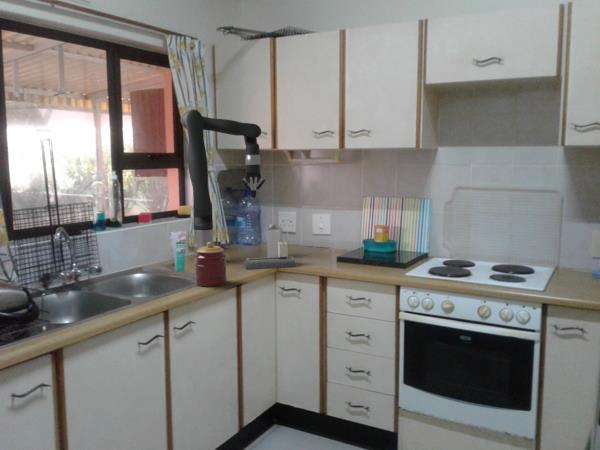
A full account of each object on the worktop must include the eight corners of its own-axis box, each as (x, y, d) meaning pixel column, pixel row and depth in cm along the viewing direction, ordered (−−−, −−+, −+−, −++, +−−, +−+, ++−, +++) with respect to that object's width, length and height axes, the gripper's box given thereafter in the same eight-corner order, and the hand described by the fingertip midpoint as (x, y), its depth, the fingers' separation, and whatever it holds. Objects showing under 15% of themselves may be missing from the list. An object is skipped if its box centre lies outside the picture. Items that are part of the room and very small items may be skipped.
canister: (212, 288, 210) (211, 245, 208) (188, 284, 217) (187, 242, 215) (233, 282, 222) (232, 240, 219) (209, 278, 228) (208, 238, 226)
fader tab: (279, 261, 253) (279, 243, 252) (278, 259, 258) (277, 242, 257) (287, 261, 254) (287, 243, 253) (286, 259, 259) (285, 241, 258)
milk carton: (282, 256, 280) (282, 221, 278) (280, 258, 273) (280, 222, 270) (269, 256, 281) (269, 221, 278) (267, 258, 274) (266, 222, 271)
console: (246, 269, 247) (245, 262, 247) (243, 264, 259) (243, 257, 258) (295, 267, 252) (295, 259, 251) (291, 262, 263) (291, 255, 263)
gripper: (240, 164, 264) (241, 198, 266) (266, 163, 266) (267, 197, 268) (239, 163, 271) (240, 197, 273) (264, 163, 273) (265, 196, 276)
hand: (253, 197), depth 271 cm, fingers closed
